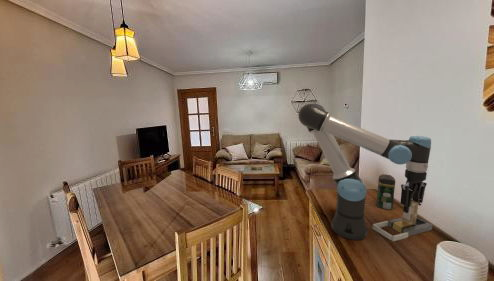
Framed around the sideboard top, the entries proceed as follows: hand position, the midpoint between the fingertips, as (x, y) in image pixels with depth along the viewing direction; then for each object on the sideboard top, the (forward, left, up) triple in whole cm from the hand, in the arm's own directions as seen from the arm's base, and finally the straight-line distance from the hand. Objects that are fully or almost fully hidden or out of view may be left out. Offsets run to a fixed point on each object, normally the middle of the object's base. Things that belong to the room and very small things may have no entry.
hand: (409, 217), depth 95 cm
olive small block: (-3, 0, -5) cm, 6 cm away
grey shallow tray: (0, 0, -5) cm, 6 cm away
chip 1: (-6, 0, -5) cm, 8 cm away
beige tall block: (0, 0, -5) cm, 5 cm away
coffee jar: (+9, +20, -6) cm, 22 cm away
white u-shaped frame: (-12, 0, -5) cm, 14 cm away
